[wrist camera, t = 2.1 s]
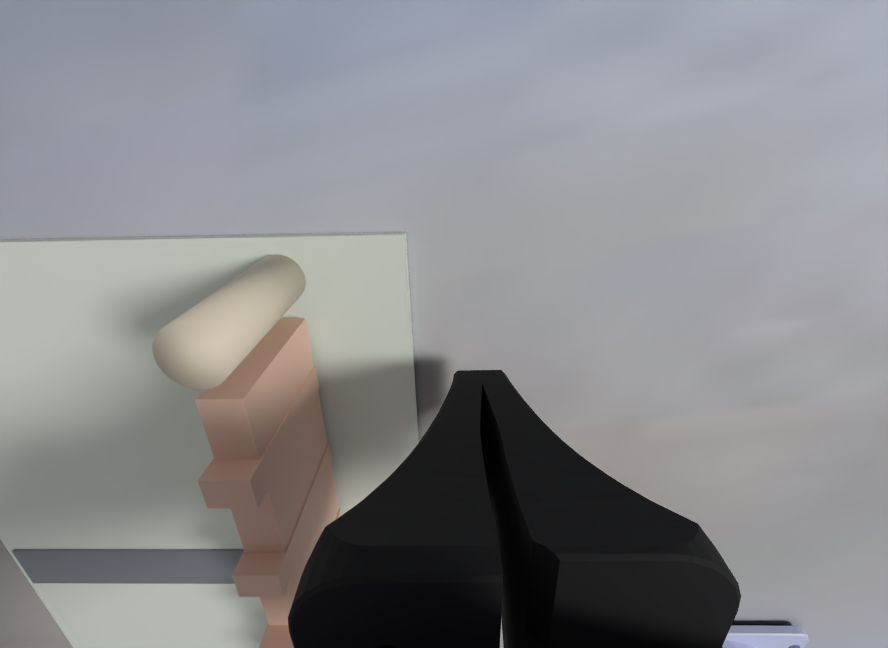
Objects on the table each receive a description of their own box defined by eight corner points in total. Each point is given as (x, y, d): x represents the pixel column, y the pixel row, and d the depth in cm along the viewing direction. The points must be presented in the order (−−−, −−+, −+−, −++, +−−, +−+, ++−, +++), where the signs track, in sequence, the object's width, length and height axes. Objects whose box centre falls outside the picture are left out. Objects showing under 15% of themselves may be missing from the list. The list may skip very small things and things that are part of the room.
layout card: (436, 724, 23) (436, 734, 23) (131, 721, 24) (126, 730, 23) (406, 231, 12) (404, 235, 11) (-184, 243, 12) (-204, 246, 12)
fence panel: (351, 552, 16) (317, 697, 12) (316, 552, 16) (270, 697, 12) (301, 253, 11) (213, 326, 7) (249, 254, 11) (134, 328, 7)
